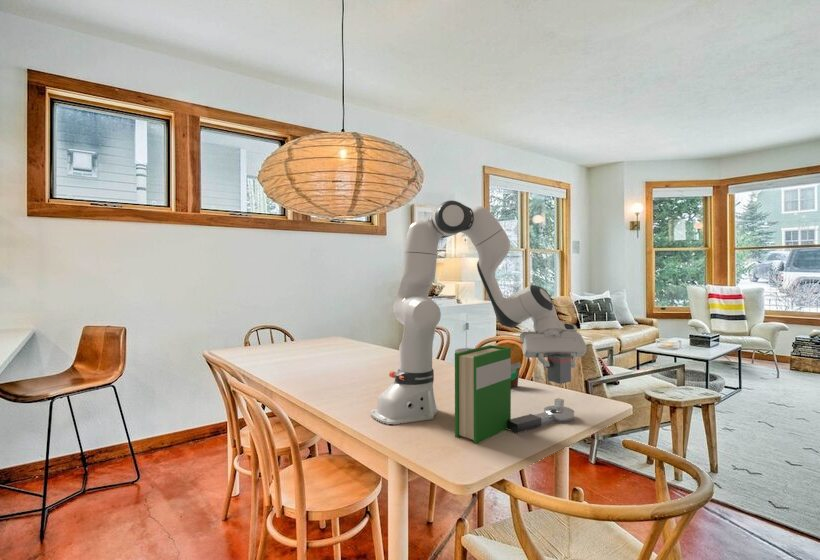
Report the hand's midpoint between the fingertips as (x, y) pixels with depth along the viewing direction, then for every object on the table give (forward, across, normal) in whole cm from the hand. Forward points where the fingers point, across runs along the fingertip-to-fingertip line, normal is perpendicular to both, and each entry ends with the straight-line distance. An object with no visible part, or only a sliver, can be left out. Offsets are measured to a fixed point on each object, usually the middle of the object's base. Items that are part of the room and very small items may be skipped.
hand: (560, 367), depth 139 cm
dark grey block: (+3, 0, +4) cm, 5 cm away
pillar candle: (-20, -22, +43) cm, 52 cm away
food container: (-15, -8, +38) cm, 42 cm away
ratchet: (+14, -7, +9) cm, 18 cm away
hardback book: (+18, -26, +5) cm, 33 cm away
